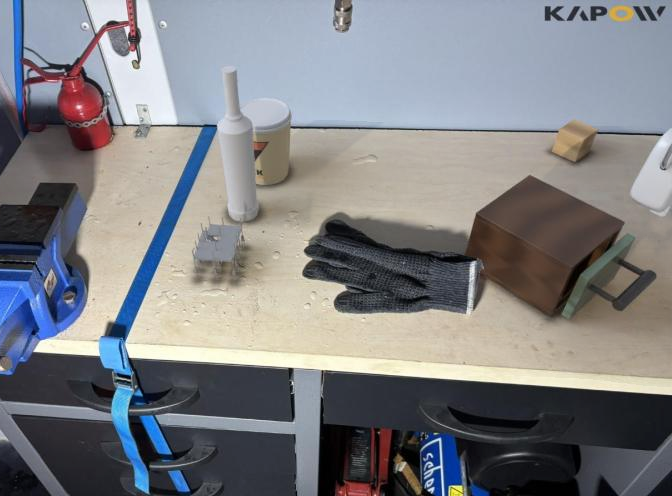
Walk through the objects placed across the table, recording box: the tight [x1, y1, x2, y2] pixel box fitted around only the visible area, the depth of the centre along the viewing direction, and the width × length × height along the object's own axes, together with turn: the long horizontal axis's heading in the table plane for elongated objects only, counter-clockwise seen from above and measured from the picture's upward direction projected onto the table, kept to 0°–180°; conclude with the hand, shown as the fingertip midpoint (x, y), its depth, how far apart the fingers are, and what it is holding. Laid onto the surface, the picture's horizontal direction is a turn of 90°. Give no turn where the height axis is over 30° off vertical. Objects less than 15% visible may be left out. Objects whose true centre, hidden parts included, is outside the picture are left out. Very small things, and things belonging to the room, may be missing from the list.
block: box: [551, 119, 599, 163], centre depth 106 cm, size 5×5×5 cm
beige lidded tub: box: [240, 97, 293, 186], centre depth 103 cm, size 9×9×12 cm
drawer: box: [559, 232, 658, 320], centre depth 82 cm, size 18×11×8 cm, turn 40°
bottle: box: [216, 65, 260, 223], centre depth 91 cm, size 5×5×25 cm
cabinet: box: [464, 174, 626, 318], centre depth 85 cm, size 15×13×10 cm
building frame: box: [191, 216, 246, 283], centre depth 90 cm, size 6×8×6 cm
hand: (669, 202), depth 68 cm, fingers open, 3 cm apart
